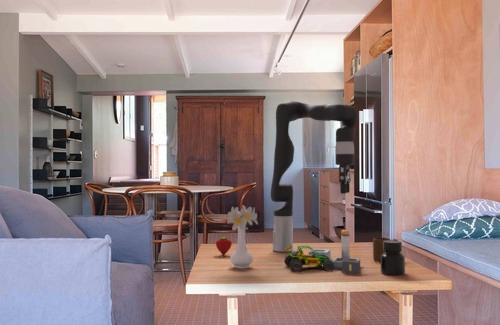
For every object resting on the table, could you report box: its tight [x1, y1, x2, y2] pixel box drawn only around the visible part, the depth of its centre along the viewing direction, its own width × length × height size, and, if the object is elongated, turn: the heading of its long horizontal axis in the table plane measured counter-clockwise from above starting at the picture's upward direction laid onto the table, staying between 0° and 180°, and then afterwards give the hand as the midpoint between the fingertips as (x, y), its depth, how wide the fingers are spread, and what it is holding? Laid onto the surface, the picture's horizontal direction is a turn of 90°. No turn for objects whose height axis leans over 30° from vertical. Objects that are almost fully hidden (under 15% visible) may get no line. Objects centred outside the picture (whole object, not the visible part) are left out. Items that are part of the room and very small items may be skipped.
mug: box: [372, 237, 399, 263], centre depth 202 cm, size 12×8×9 cm, turn 100°
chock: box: [341, 260, 361, 275], centre depth 177 cm, size 4×6×4 cm
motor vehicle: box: [283, 244, 333, 273], centre depth 186 cm, size 12×19×11 cm, turn 98°
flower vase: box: [226, 204, 259, 270], centre depth 188 cm, size 13×18×25 cm
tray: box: [331, 256, 361, 270], centre depth 187 cm, size 10×9×3 cm
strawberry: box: [215, 235, 233, 256], centre depth 217 cm, size 6×8×10 cm
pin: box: [340, 229, 351, 261], centre depth 187 cm, size 3×3×14 cm
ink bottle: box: [380, 239, 406, 276], centre depth 176 cm, size 10×9×12 cm
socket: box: [308, 248, 331, 257], centre depth 204 cm, size 8×8×4 cm
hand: (345, 193), depth 188 cm, fingers open, 8 cm apart
